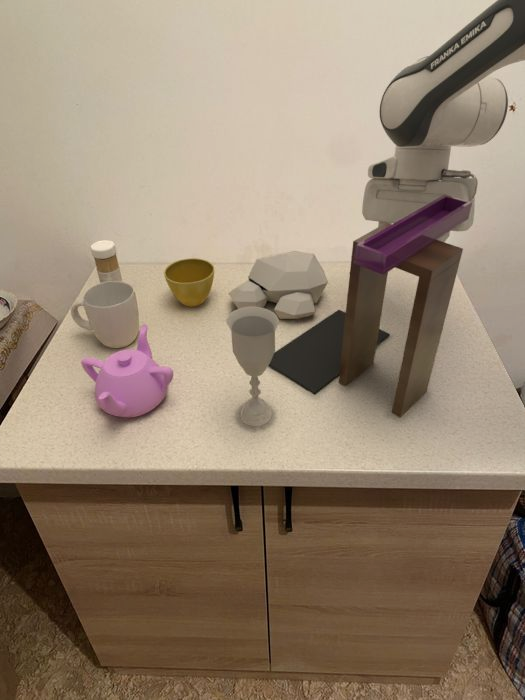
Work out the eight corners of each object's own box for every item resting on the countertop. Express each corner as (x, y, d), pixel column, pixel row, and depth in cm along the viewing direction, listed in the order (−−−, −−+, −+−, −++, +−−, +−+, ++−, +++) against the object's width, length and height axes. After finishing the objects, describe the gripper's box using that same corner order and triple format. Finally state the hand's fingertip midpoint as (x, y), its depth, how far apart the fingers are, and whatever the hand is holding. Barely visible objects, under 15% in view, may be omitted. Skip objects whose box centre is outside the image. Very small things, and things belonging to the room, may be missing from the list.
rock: (326, 327, 97) (329, 284, 91) (224, 321, 99) (220, 279, 93) (327, 279, 111) (330, 239, 105) (238, 275, 113) (235, 235, 107)
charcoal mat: (338, 311, 101) (338, 309, 101) (389, 335, 95) (389, 333, 94) (262, 362, 89) (262, 360, 89) (314, 394, 83) (314, 392, 82)
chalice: (224, 414, 79) (215, 321, 68) (253, 392, 83) (250, 300, 72) (258, 438, 75) (255, 343, 64) (287, 413, 79) (289, 320, 68)
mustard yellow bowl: (162, 312, 102) (157, 281, 98) (176, 286, 110) (172, 256, 106) (210, 315, 101) (207, 284, 97) (221, 289, 109) (218, 259, 104)
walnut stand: (366, 360, 89) (386, 222, 73) (426, 392, 83) (463, 248, 66) (338, 382, 85) (353, 241, 69) (400, 418, 78) (432, 270, 62)
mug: (149, 326, 98) (141, 282, 92) (133, 354, 91) (123, 309, 85) (88, 321, 100) (76, 277, 94) (68, 349, 93) (53, 303, 87)
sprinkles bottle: (121, 294, 108) (108, 237, 99) (131, 303, 105) (118, 245, 96) (101, 302, 105) (86, 244, 97) (111, 311, 103) (96, 252, 94)
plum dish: (440, 211, 76) (444, 194, 74) (468, 219, 73) (472, 202, 72) (353, 263, 64) (355, 244, 62) (383, 275, 61) (386, 256, 60)
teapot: (153, 362, 90) (146, 322, 84) (184, 410, 80) (177, 368, 75) (87, 386, 85) (74, 344, 80) (111, 439, 76) (98, 397, 70)
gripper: (489, 170, 79) (474, 259, 83) (382, 167, 93) (374, 242, 98) (469, 170, 75) (454, 263, 80) (360, 166, 89) (353, 245, 94)
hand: (409, 251), depth 89 cm, fingers open, 8 cm apart
